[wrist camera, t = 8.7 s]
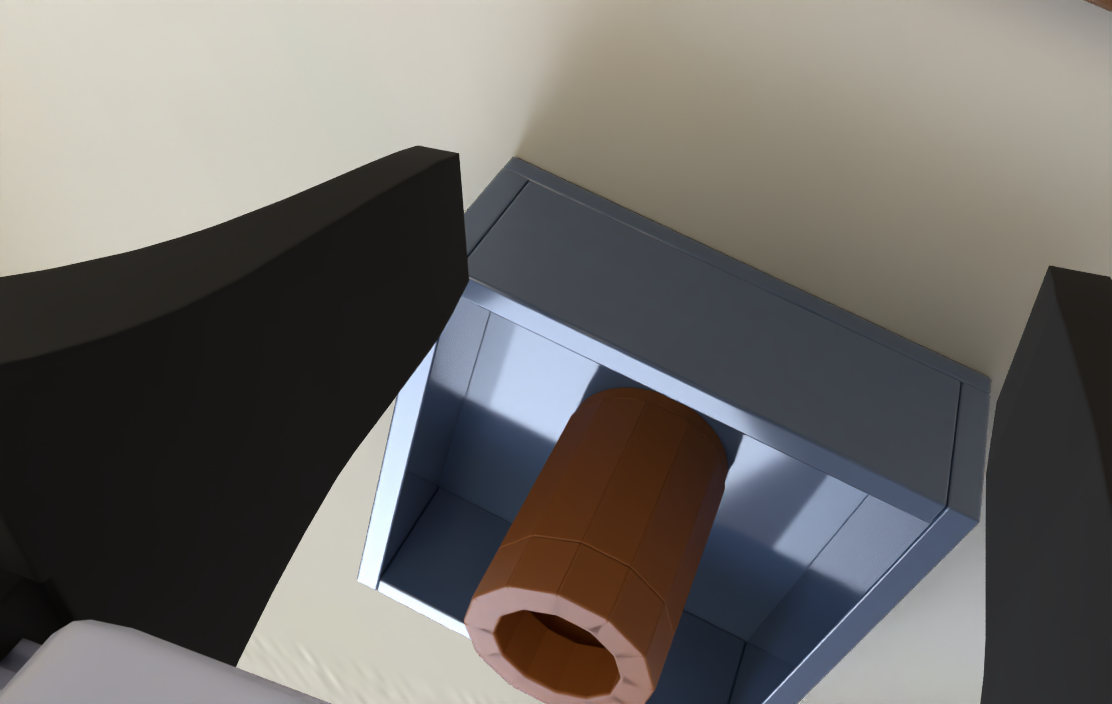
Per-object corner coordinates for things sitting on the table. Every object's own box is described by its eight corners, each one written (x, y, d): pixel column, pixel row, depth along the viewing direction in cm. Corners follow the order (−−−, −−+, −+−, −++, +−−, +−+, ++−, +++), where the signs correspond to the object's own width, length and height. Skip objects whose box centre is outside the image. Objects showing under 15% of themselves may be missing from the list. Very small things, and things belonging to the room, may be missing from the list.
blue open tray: (992, 378, 23) (980, 522, 19) (762, 645, 32) (727, 773, 29) (513, 154, 24) (425, 255, 21) (425, 476, 33) (356, 580, 30)
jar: (754, 436, 26) (680, 656, 21) (693, 532, 29) (616, 742, 24) (596, 360, 26) (486, 558, 21) (553, 462, 29) (449, 655, 24)
